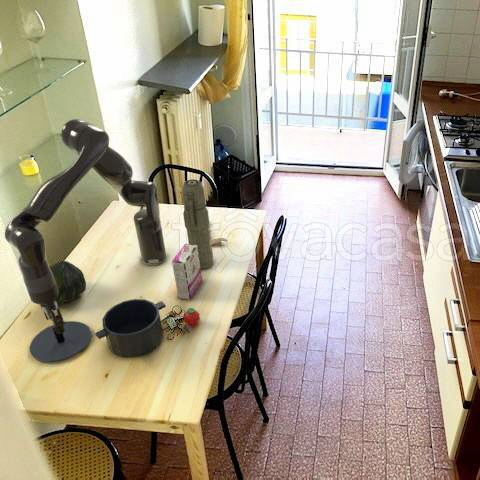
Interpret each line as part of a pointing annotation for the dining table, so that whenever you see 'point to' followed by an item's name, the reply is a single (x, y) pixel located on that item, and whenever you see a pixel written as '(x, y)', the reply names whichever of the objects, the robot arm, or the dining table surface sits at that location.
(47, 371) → the dining table surface
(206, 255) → the thermos
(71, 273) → the squash
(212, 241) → the jawbone
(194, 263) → the candy bar box
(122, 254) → the dining table surface
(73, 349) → the lid
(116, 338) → the pot
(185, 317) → the strawberry
